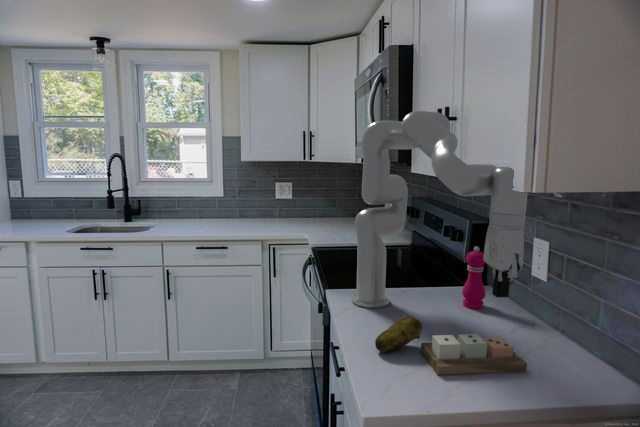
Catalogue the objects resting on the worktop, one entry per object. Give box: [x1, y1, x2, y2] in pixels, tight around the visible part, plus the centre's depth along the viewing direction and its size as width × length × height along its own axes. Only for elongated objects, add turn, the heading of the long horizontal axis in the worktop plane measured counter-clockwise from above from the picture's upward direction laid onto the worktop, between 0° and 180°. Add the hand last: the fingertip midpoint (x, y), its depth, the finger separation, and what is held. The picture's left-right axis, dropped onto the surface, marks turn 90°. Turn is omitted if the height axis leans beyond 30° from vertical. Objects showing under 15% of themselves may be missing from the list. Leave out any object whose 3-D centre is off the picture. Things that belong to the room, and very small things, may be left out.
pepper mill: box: [461, 246, 486, 310], centre depth 139 cm, size 7×7×20 cm
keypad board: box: [420, 341, 528, 377], centre depth 103 cm, size 12×21×2 cm, turn 95°
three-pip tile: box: [482, 337, 514, 358], centre depth 103 cm, size 5×5×4 cm
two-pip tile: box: [457, 333, 487, 359], centre depth 102 cm, size 5×5×4 cm
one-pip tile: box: [431, 334, 461, 360], centre depth 102 cm, size 5×5×4 cm
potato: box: [375, 315, 423, 353], centre depth 109 cm, size 8×13×8 cm, turn 98°
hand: (500, 295), depth 101 cm, fingers closed
